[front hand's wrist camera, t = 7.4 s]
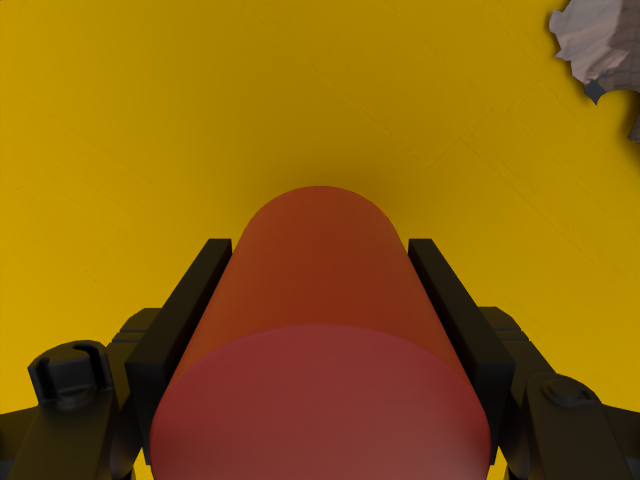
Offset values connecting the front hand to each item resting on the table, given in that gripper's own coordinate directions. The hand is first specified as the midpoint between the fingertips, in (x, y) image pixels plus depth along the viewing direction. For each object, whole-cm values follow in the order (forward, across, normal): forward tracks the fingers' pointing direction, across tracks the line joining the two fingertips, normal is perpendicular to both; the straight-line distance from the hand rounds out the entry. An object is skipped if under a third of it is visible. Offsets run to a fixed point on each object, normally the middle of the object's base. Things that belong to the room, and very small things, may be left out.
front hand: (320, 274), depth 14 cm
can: (+1, 0, 0) cm, 1 cm away
